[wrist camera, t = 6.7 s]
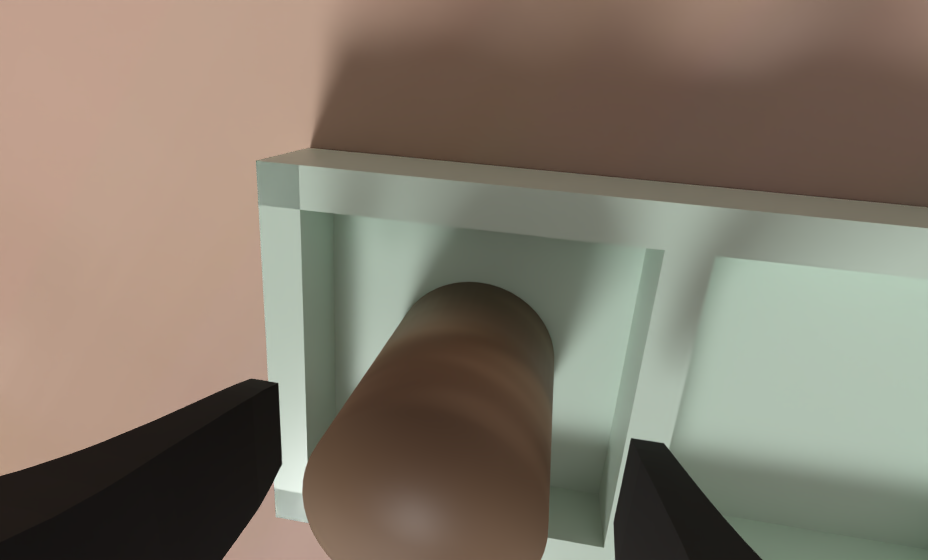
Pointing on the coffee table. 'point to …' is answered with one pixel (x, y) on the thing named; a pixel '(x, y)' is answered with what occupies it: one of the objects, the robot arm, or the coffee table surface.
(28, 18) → the coffee table surface
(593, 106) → the coffee table surface
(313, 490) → the cylinder
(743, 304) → the holder tray
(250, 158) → the coffee table surface
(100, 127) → the coffee table surface
